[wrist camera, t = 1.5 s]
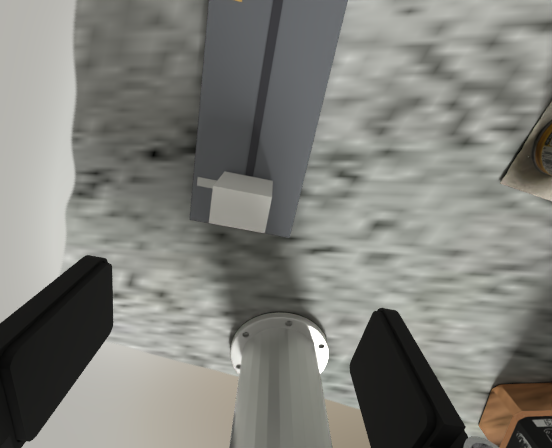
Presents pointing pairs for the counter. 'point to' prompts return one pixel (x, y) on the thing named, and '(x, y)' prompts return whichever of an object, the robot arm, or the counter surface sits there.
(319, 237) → the counter surface
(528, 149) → the condiment
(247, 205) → the fader knob
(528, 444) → the whiskey bottle
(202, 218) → the fader panel
